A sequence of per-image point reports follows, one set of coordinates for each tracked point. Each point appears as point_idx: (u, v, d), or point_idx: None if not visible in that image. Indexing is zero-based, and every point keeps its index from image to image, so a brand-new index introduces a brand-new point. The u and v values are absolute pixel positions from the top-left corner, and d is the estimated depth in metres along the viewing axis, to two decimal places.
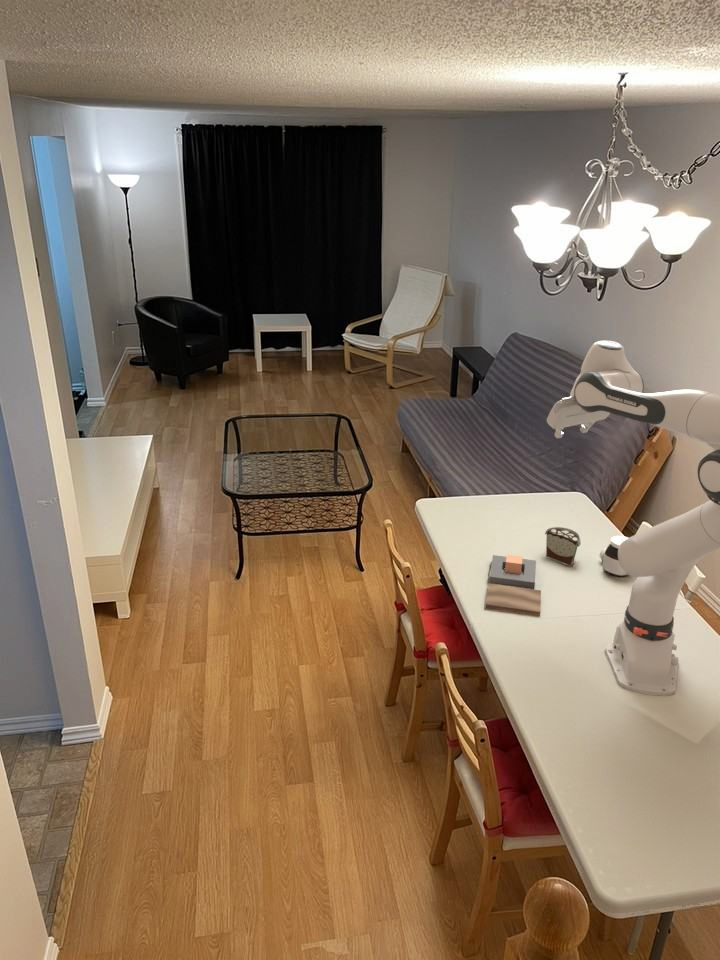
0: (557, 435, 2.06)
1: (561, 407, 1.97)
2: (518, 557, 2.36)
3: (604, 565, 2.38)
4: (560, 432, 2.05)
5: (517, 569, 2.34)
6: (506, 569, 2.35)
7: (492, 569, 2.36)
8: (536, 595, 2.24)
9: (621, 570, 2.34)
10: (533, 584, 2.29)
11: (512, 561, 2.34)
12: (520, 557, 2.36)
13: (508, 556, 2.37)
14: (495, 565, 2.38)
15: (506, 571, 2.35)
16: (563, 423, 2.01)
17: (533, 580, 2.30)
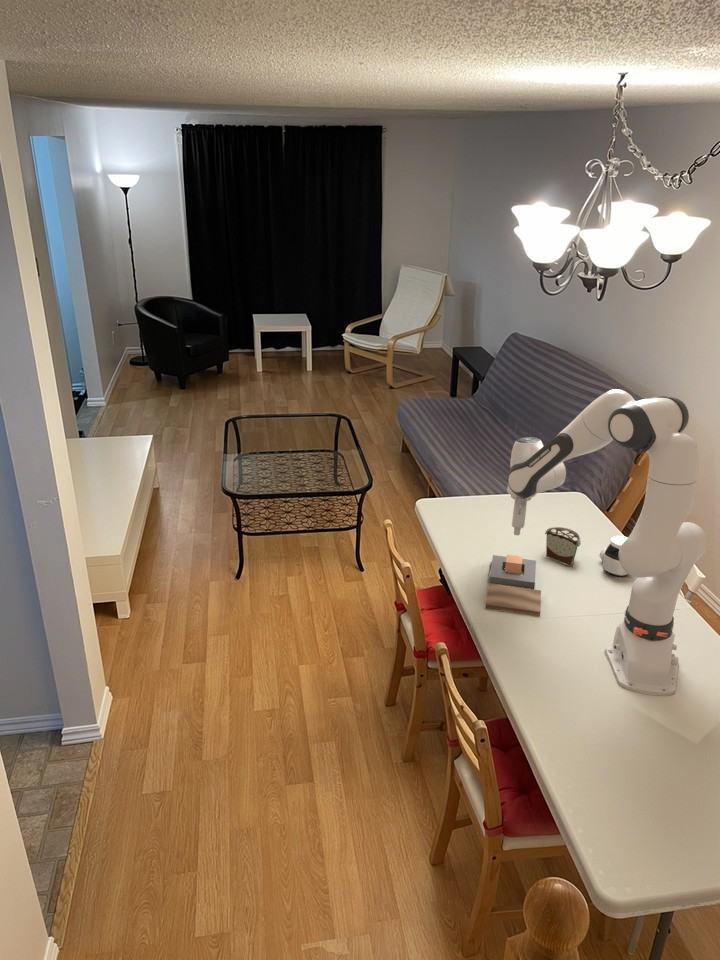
0: (517, 532, 2.26)
1: (523, 506, 2.18)
2: (518, 557, 2.36)
3: (604, 565, 2.38)
4: (520, 529, 2.25)
5: (517, 569, 2.34)
6: (506, 569, 2.35)
7: (492, 569, 2.36)
8: (536, 595, 2.24)
9: (621, 570, 2.34)
10: (533, 584, 2.29)
11: (512, 561, 2.34)
12: (521, 557, 2.36)
13: (508, 556, 2.37)
14: (495, 565, 2.38)
15: (506, 571, 2.35)
16: None
17: (533, 580, 2.30)
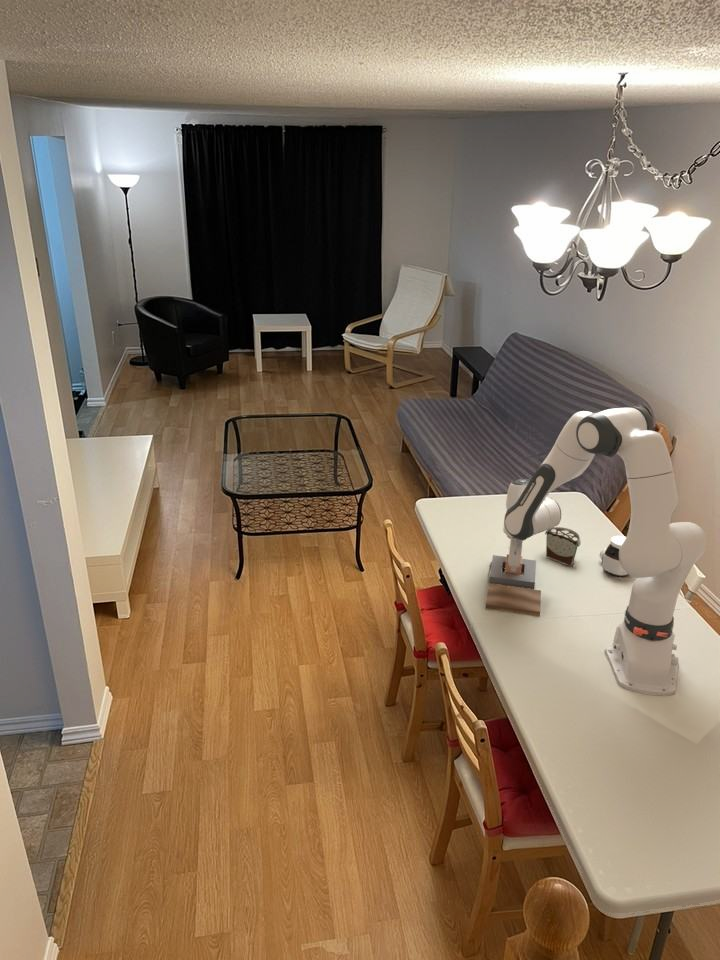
0: (514, 569, 2.32)
1: (518, 547, 2.23)
2: None
3: (604, 565, 2.38)
4: None
5: (517, 569, 2.34)
6: (506, 569, 2.35)
7: (492, 569, 2.36)
8: (536, 595, 2.24)
9: (621, 570, 2.34)
10: (533, 584, 2.29)
11: None
12: (521, 557, 2.36)
13: (508, 556, 2.37)
14: (495, 565, 2.38)
15: (506, 571, 2.35)
16: None
17: (533, 580, 2.30)
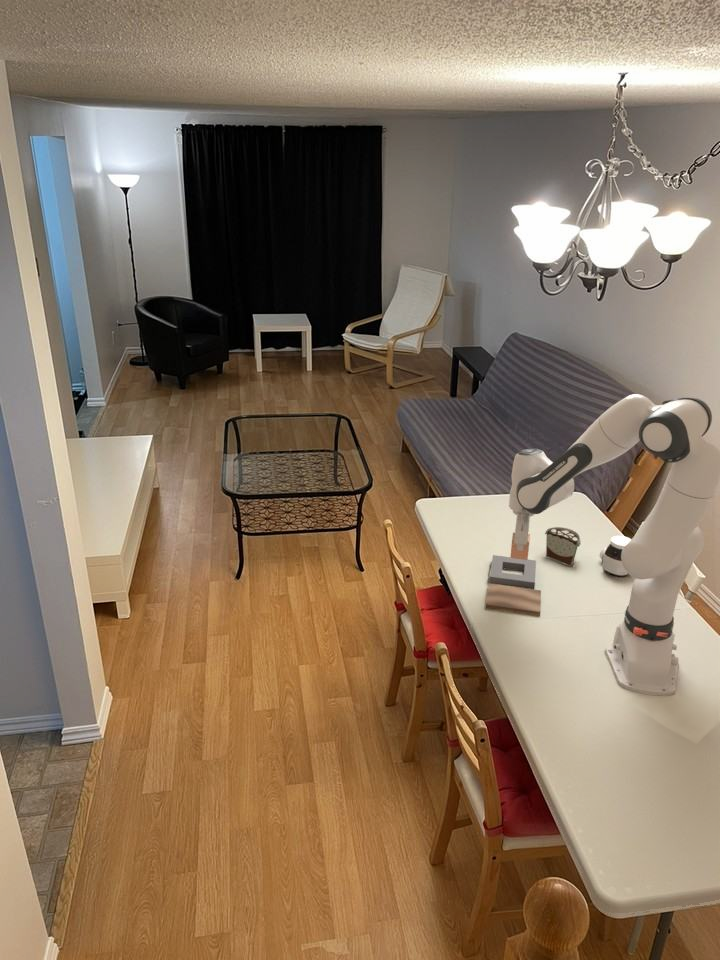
0: (521, 548, 2.14)
1: (525, 522, 2.06)
2: None
3: (604, 565, 2.38)
4: None
5: (525, 548, 2.16)
6: (512, 548, 2.17)
7: (492, 569, 2.36)
8: (536, 595, 2.24)
9: (621, 570, 2.34)
10: (533, 584, 2.29)
11: None
12: (528, 535, 2.18)
13: (514, 534, 2.19)
14: (495, 565, 2.38)
15: (512, 550, 2.17)
16: None
17: (533, 580, 2.30)
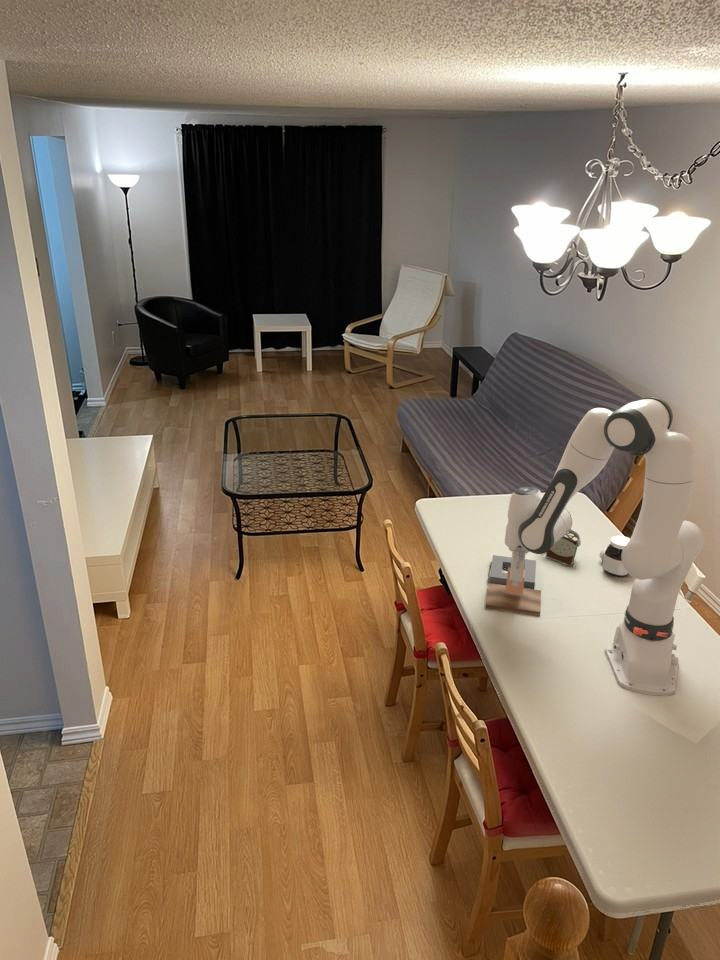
0: (516, 583, 2.17)
1: (521, 561, 2.08)
2: None
3: (604, 565, 2.38)
4: None
5: (520, 583, 2.18)
6: (507, 583, 2.19)
7: (492, 569, 2.36)
8: (536, 595, 2.24)
9: (621, 570, 2.34)
10: (533, 584, 2.29)
11: None
12: None
13: (509, 569, 2.21)
14: (495, 565, 2.38)
15: (507, 585, 2.19)
16: None
17: (533, 580, 2.30)
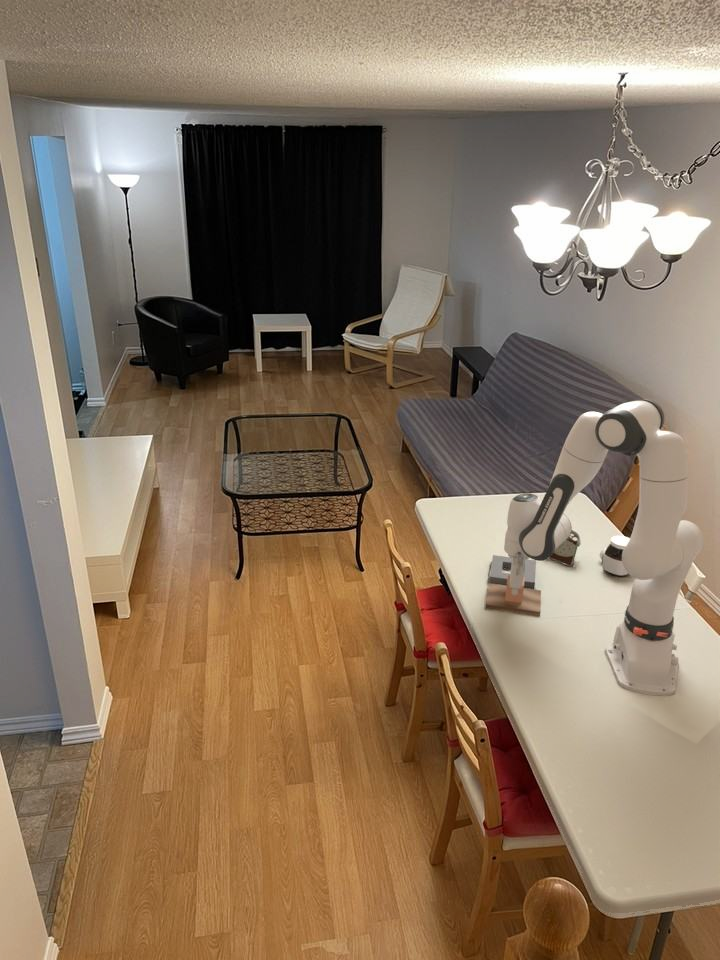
0: (515, 592, 2.16)
1: (520, 567, 2.09)
2: None
3: (604, 565, 2.38)
4: None
5: (519, 591, 2.19)
6: (507, 591, 2.20)
7: (492, 569, 2.36)
8: (536, 595, 2.24)
9: (621, 570, 2.34)
10: (533, 584, 2.29)
11: None
12: None
13: (509, 577, 2.22)
14: (495, 565, 2.38)
15: (507, 593, 2.20)
16: None
17: (533, 580, 2.30)
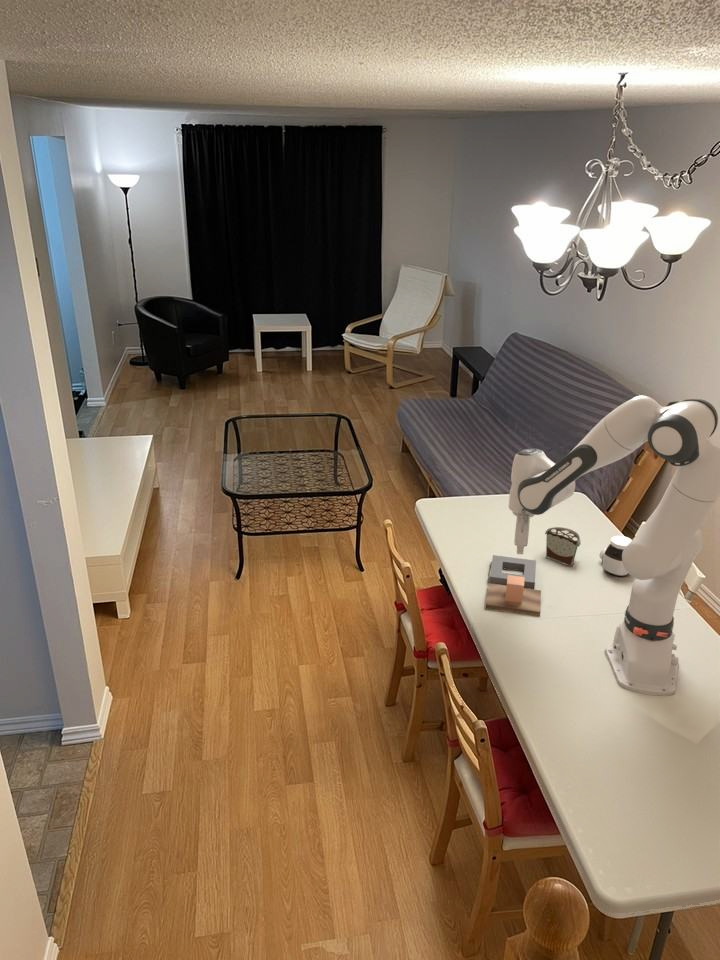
0: (521, 551, 2.10)
1: (525, 523, 2.03)
2: (520, 578, 2.22)
3: (604, 565, 2.38)
4: (523, 547, 2.10)
5: (519, 591, 2.19)
6: (507, 591, 2.20)
7: (492, 569, 2.36)
8: (536, 595, 2.24)
9: (621, 570, 2.34)
10: (533, 584, 2.29)
11: (513, 582, 2.19)
12: (522, 578, 2.21)
13: (509, 577, 2.22)
14: (495, 565, 2.38)
15: (507, 593, 2.20)
16: None
17: (533, 580, 2.30)
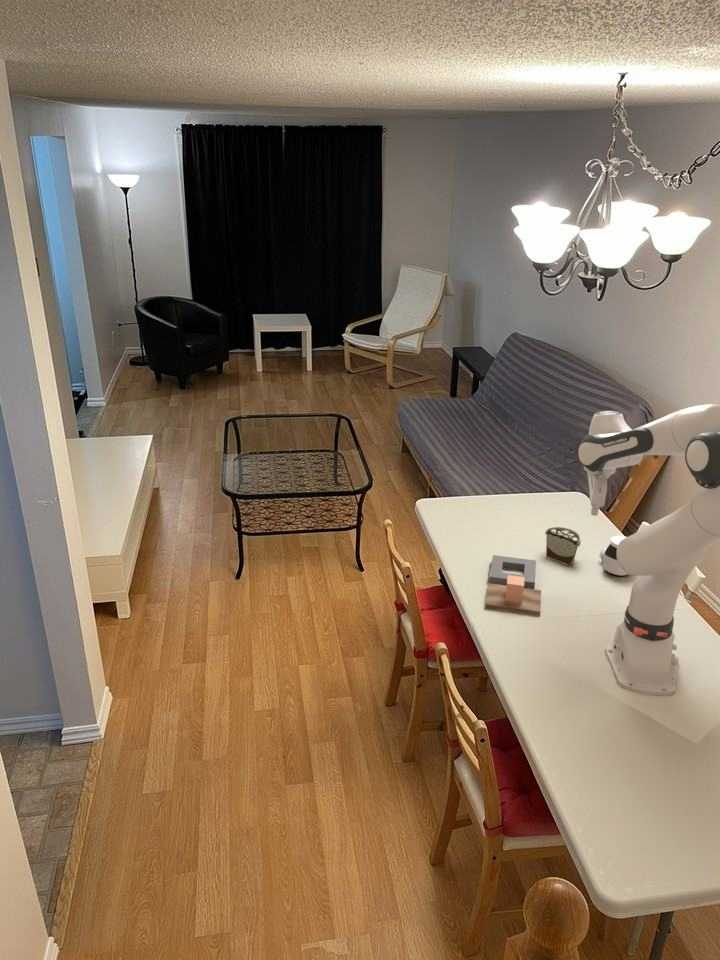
0: (595, 513, 2.12)
1: (603, 484, 2.05)
2: (520, 578, 2.22)
3: (604, 565, 2.38)
4: (598, 508, 2.12)
5: (519, 591, 2.19)
6: (507, 591, 2.20)
7: (492, 569, 2.36)
8: (536, 595, 2.24)
9: (621, 570, 2.34)
10: (533, 584, 2.29)
11: (513, 582, 2.19)
12: (522, 578, 2.21)
13: (509, 577, 2.22)
14: (495, 565, 2.38)
15: (507, 593, 2.20)
16: None
17: (533, 580, 2.30)
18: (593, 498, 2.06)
